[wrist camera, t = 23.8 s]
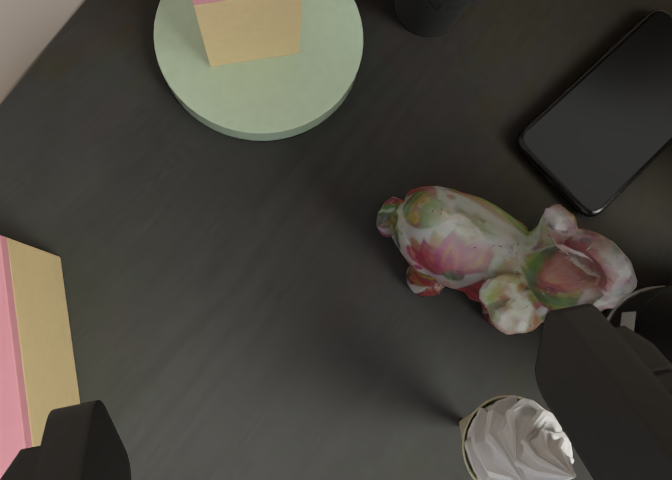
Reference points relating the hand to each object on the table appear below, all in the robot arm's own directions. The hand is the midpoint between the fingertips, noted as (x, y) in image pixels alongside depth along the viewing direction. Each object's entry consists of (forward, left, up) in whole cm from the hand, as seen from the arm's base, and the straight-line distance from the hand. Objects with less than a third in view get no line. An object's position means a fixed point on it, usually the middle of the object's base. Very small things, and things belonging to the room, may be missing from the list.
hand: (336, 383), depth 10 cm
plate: (-12, -18, -27) cm, 34 cm away
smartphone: (-28, +3, -27) cm, 39 cm away
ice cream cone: (-5, +10, -27) cm, 30 cm away
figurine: (-12, +2, -27) cm, 30 cm away
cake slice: (-11, -18, -26) cm, 33 cm away
